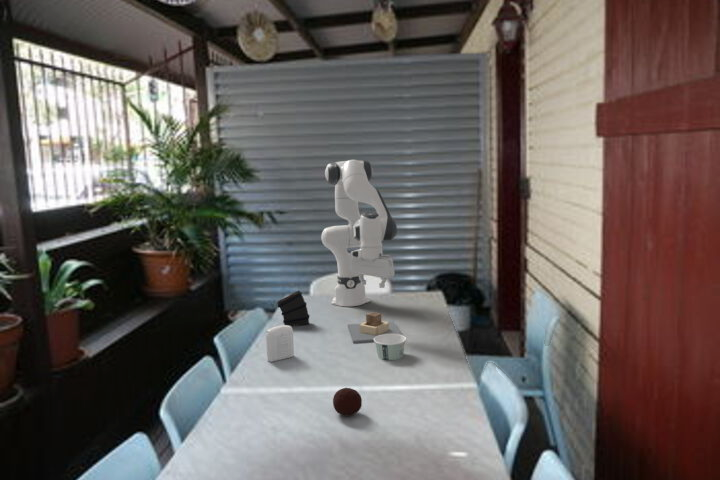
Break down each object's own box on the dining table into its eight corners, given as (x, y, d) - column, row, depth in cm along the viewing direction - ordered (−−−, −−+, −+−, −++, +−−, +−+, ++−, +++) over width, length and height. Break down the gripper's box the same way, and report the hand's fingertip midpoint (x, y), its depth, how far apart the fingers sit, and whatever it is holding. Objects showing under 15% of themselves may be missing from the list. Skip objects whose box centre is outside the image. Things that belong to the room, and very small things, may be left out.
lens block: (366, 331, 242) (366, 314, 241) (373, 328, 245) (372, 312, 244) (375, 332, 239) (374, 316, 238) (381, 329, 243) (381, 313, 241)
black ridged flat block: (315, 321, 257) (299, 291, 254) (289, 334, 257) (272, 305, 255) (316, 318, 260) (299, 289, 258) (290, 332, 261) (273, 303, 258)
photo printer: (290, 353, 221) (288, 322, 219) (296, 356, 218) (294, 324, 216) (265, 359, 216) (263, 327, 214) (270, 363, 212) (268, 330, 210)
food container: (404, 362, 208) (404, 344, 207) (371, 361, 210) (370, 343, 209) (408, 350, 220) (408, 334, 219) (377, 349, 222) (376, 333, 221)
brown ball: (344, 405, 175) (343, 380, 173) (369, 413, 169) (368, 387, 168) (326, 415, 168) (325, 389, 167) (350, 423, 163) (349, 397, 161)
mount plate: (347, 326, 252) (347, 317, 251) (393, 323, 254) (393, 314, 254) (353, 343, 230) (352, 333, 230) (403, 339, 233) (402, 329, 232)
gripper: (397, 253, 233) (398, 287, 235) (357, 249, 246) (358, 281, 248) (387, 256, 228) (388, 290, 230) (347, 252, 241) (348, 284, 243)
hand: (372, 286), depth 239 cm, fingers open, 8 cm apart
